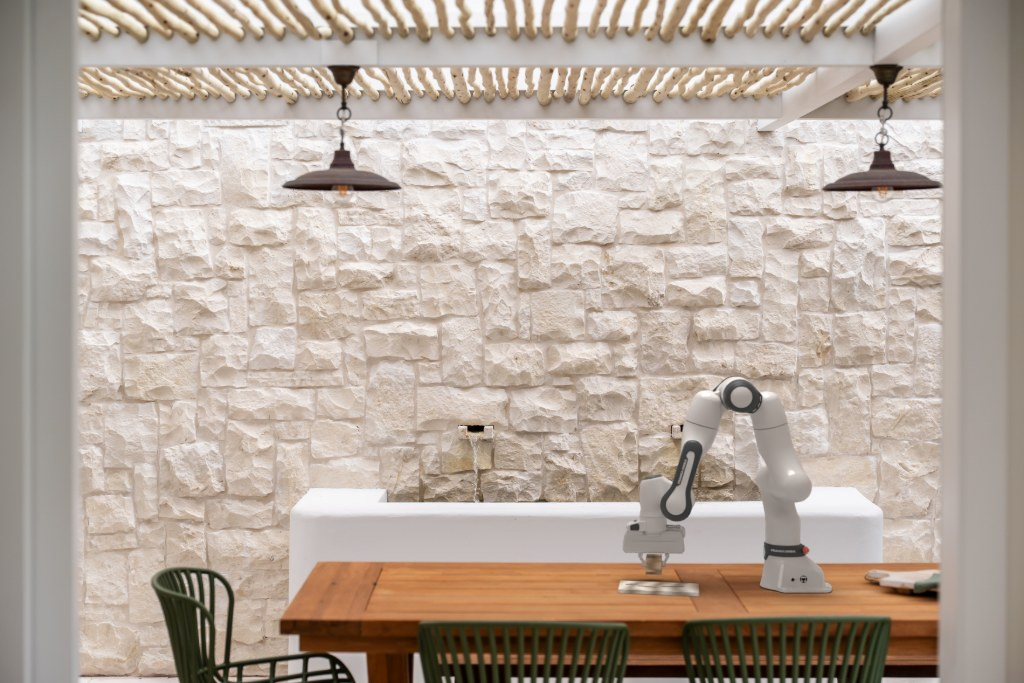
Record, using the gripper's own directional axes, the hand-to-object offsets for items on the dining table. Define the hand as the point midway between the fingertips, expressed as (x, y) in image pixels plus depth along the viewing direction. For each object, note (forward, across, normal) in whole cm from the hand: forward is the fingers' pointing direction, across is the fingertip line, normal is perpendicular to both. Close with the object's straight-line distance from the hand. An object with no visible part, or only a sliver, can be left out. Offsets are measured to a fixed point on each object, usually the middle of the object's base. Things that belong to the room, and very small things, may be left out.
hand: (653, 566), depth 364 cm
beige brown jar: (+2, 0, 0) cm, 2 cm away
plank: (+5, -2, +12) cm, 13 cm away
